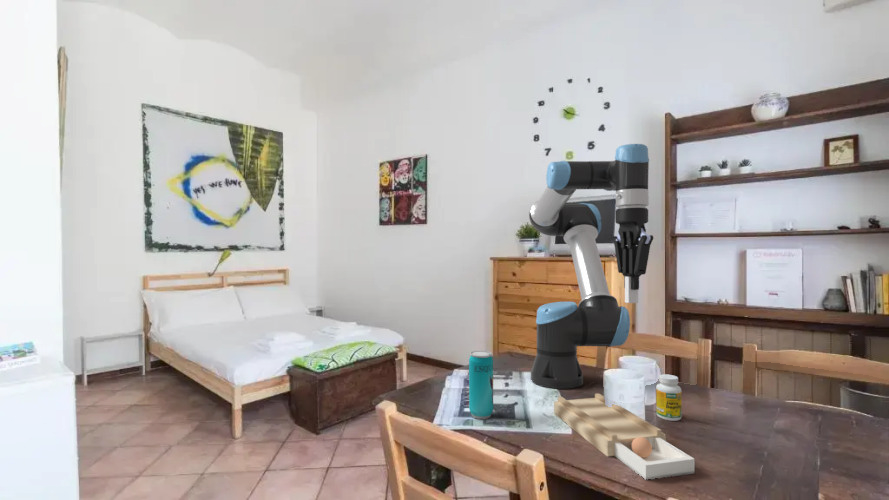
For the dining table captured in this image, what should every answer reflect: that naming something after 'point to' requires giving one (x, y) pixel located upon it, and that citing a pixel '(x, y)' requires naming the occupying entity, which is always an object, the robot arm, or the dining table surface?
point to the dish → (656, 460)
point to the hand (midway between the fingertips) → (631, 302)
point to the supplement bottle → (668, 398)
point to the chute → (604, 422)
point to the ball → (641, 447)
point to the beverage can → (481, 384)
